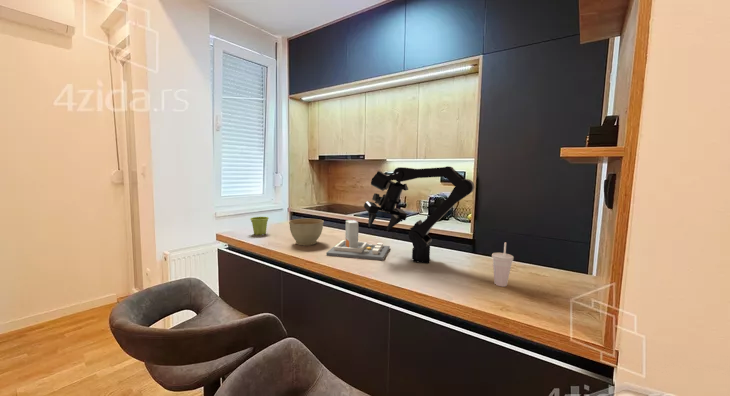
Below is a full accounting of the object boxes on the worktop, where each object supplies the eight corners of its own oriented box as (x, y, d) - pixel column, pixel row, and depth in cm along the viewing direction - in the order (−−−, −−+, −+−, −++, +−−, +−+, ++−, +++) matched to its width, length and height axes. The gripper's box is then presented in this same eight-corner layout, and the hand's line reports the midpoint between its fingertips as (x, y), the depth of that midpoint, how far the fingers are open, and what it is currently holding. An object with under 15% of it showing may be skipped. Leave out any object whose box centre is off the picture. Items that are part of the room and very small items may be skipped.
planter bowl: (327, 246, 139) (327, 223, 138) (291, 249, 133) (291, 225, 132) (319, 238, 154) (319, 217, 153) (287, 240, 148) (287, 218, 147)
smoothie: (510, 289, 93) (513, 245, 91) (488, 285, 96) (491, 242, 94) (512, 283, 98) (515, 241, 96) (491, 279, 101) (494, 238, 100)
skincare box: (345, 246, 135) (345, 220, 133) (353, 245, 136) (354, 219, 135) (349, 250, 129) (349, 222, 128) (358, 249, 130) (358, 222, 129)
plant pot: (258, 236, 155) (257, 220, 154) (246, 234, 160) (246, 218, 159) (272, 233, 163) (272, 217, 162) (261, 231, 168) (261, 216, 167)
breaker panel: (389, 248, 137) (389, 242, 137) (383, 260, 120) (383, 253, 119) (339, 244, 142) (339, 238, 142) (326, 255, 125) (326, 248, 124)
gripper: (401, 193, 134) (388, 223, 139) (366, 183, 126) (353, 216, 130) (413, 203, 125) (399, 235, 129) (376, 193, 116) (361, 228, 120)
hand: (378, 228), depth 127 cm, fingers open, 9 cm apart
